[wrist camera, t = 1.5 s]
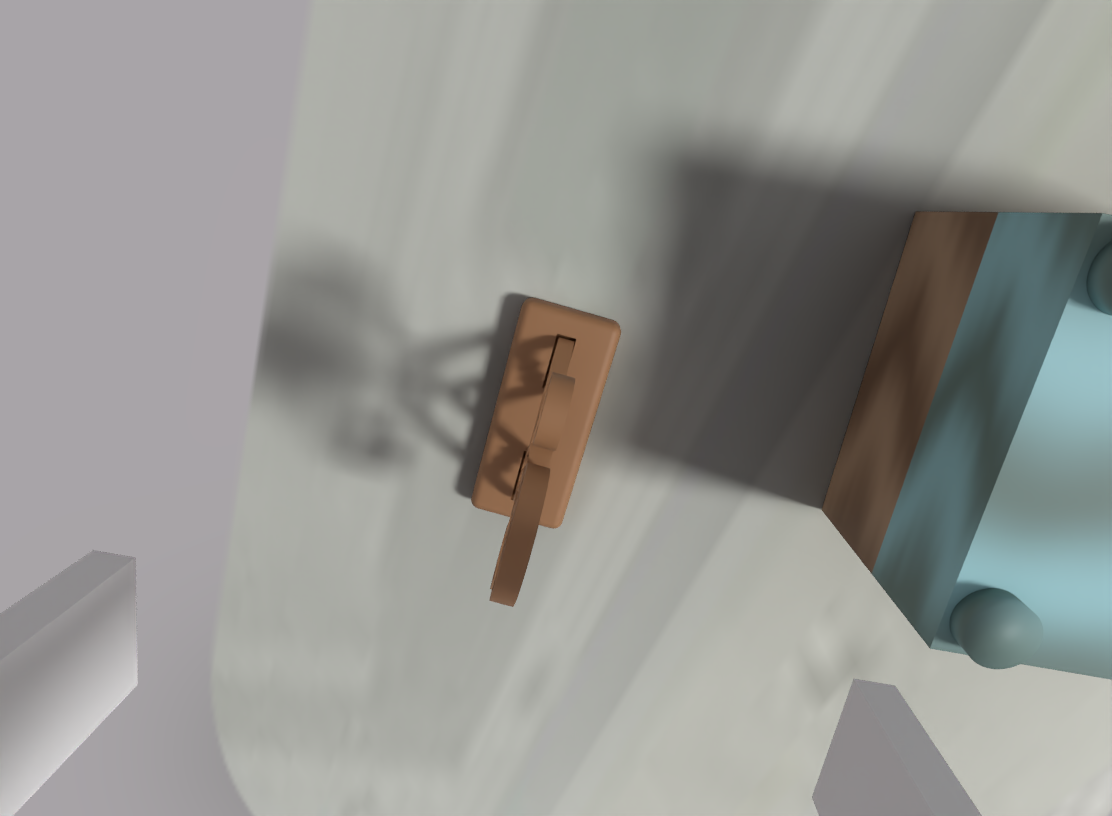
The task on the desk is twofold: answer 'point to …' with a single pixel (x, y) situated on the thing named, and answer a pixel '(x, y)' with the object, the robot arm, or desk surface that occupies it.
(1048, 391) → the teal and brown block
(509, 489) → the lever handle backplate
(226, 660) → the desk surface
